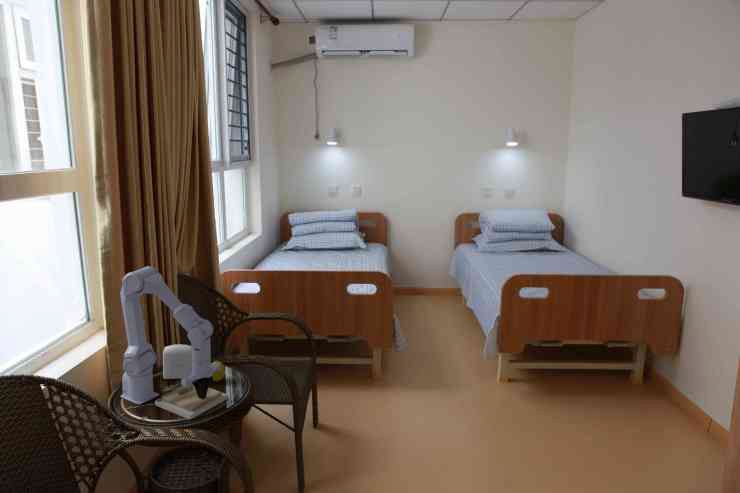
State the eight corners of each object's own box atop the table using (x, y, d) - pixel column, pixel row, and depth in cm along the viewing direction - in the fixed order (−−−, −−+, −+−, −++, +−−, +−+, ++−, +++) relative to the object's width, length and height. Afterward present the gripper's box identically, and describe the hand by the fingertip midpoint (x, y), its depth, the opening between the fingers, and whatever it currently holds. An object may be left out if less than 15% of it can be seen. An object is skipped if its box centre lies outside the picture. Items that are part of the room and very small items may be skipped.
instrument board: (161, 398, 164) (161, 391, 163) (191, 384, 175) (191, 377, 174) (192, 411, 157) (191, 403, 157) (221, 394, 168) (221, 387, 168)
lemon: (220, 386, 178) (220, 365, 176) (206, 384, 179) (205, 362, 177) (227, 379, 183) (227, 358, 182) (213, 377, 184) (213, 356, 183)
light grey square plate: (155, 405, 163) (154, 398, 163) (193, 386, 177) (193, 380, 176) (190, 419, 156) (190, 412, 155) (227, 398, 169) (227, 392, 169)
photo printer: (194, 373, 187) (193, 342, 184) (192, 378, 182) (192, 346, 180) (164, 375, 184) (163, 343, 182) (162, 380, 180) (161, 347, 178)
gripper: (192, 369, 153) (193, 411, 156) (227, 354, 165) (227, 392, 168) (176, 364, 156) (177, 404, 159) (211, 349, 169) (211, 386, 171)
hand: (201, 398), depth 164 cm, fingers closed, pressing on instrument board
